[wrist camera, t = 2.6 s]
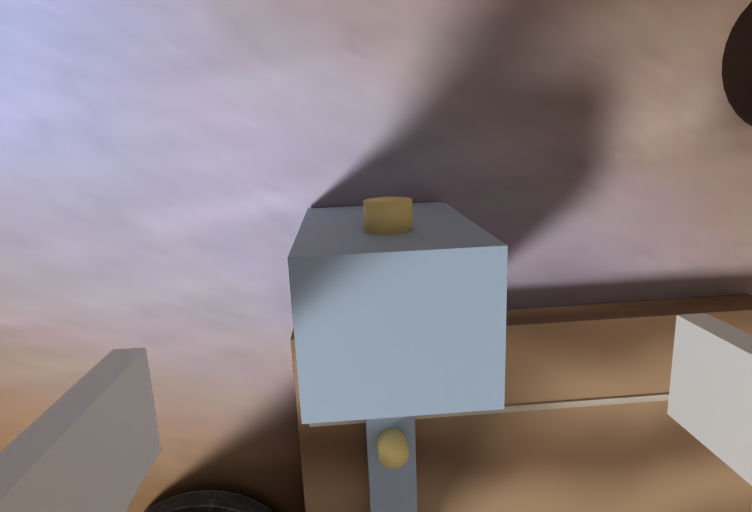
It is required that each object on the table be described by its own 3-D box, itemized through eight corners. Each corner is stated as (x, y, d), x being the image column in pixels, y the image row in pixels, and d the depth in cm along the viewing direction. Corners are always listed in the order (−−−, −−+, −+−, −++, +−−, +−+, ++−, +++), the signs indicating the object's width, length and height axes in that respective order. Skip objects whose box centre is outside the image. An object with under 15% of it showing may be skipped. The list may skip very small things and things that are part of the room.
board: (294, 322, 24) (290, 340, 22) (748, 294, 25) (784, 308, 23) (312, 539, 27) (310, 573, 25) (719, 504, 28) (748, 533, 26)
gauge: (306, 185, 22) (284, 221, 14) (443, 179, 23) (508, 209, 14) (331, 529, 26) (327, 725, 18) (446, 519, 27) (497, 707, 18)
